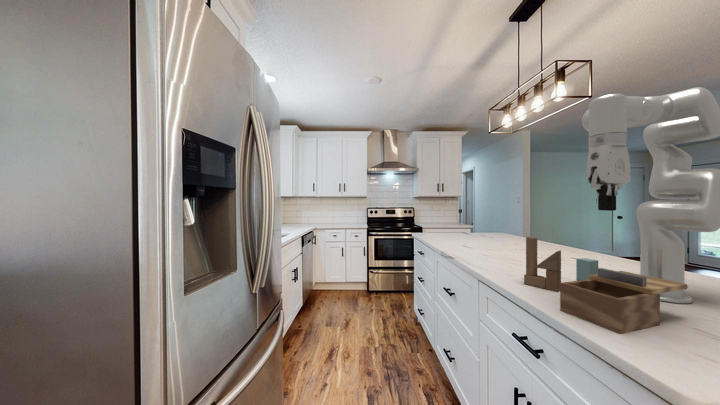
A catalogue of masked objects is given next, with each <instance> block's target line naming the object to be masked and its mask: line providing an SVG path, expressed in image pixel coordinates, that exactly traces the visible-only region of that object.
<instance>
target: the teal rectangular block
mask: <svg viewBox="0 0 720 405" xmlns="http://www.w3.org/2000/svg"><path fill="white" fill-rule="evenodd" d="M575 260H576V264H575V265H576V274H575V275H576V278H575V279H576V280H575V281H578V280H586V279H588V275H592V274H598V268H599V260H596V259H593V258H586V257H583V258H581V257H580V258H576V259H575Z"/></svg>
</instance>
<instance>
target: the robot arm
mask: <svg viewBox="0 0 720 405" xmlns="http://www.w3.org/2000/svg"><path fill="white" fill-rule="evenodd" d="M581 123H582V127H583V129H584V130H585V131H586V132H588V154H587V159H586V160H587V162H586V181H587V183H589V185H590V188H591V189H593V190H595V191H596V196H597V207H598V208H597V209H598V211H610V212H611V211H613V212H614V211H615V212H616V210H617V195H618V192H619V190H620V189H623V187H624V184H626V185H627V184H630V182H631V178H632V176H631V175H632V174H631V161H630V154H629V150H628V147H627V146H628V129H630V128H638V127H643V126H646V127H645V128H644V129H643V133H642V137H643V142H644V144H645V146H646V149H647V150H648V152H649V154H650V155H651V157H652V160H653V164H652V168H651V174H650V179H649V183H648V193H649V194H650V196H651V197H653V198H654V199H655V200H649V201H644V202H642V203H640V204H639V205H638V206H637V208H636V210H635V211H636V220H637V223H638V227H639V236H640V237H639V238H640V240H639V241H640V250H639V251H640V254H639V255H640V259H639V262H640V265H639V268H640V270H639V271H640V272H639V273H640V274H639V275H644V276H649V277H654V278H659V279H664V280H669V281H674V282H678V283H683V284H686V283H685V279H686V278H685V277H686V276H685V273H686V272H685V271H686V270H685V267H686V266H685V265H686V264H685V262H686V260H685V255H686V254H685V252H686V249H685V243H684V241H683V240H682V239H681V238H680V236H678V235H677V234H676V233H675V232H674V231H677V232H678V231H679V232H680V231H681V232H696V233H698V232H699V233H712V232H716V231H718V230H720V169H718V168H709V167H708V168H693V169H692V164H693V158H692V156H691V155H690V154H688V152H686V151H684V150H683V149H681V148H680V147H677V146H676V145H677V144H684V143H691V142H701V141H706V140H713V139H716V138H718V137H719V136H720V106H719V104H718V102H717V99H715V97H714V95H713V94H712V92H711V91H710V90H708V89H707V88H706V87H703V86H702V87H701V86H697V87H696V86H695V87H691V88H687V89H684V90H679V91H676V92H675V91H674V92H671V93H668V94H667V93H666V94H663V95H653V96H651V95H650V96H648V95H647V96H640V95H639V96H638V95H637V96H636V95H634V96H628V95H627V96H626V95H625V94H623V93H610V94H604V95H601V96H598V97H595V98H593V99H592V100H591V101H590V102H589V104H588V109H587V110H586V111H585V112H584V114H583V115H582V118H581ZM675 144H676V145H675ZM656 199H657V200H656ZM658 199H659V200H658ZM688 288H689V286H688V285H687V289H688ZM685 290H686V289H682V290H677V291H671V292H665V293H659V294H660V302H664V303H665V302H666V303H674V304H692V303H693V297H691V296H690V295H688V294H685V293H686V292H685Z"/></svg>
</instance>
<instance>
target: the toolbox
mask: <svg viewBox="0 0 720 405" xmlns="http://www.w3.org/2000/svg"><path fill="white" fill-rule="evenodd" d="M559 310H560V312H563V313H566V314H569V315H571V316H573V317H576V318H579V319H581V320H583V321H586V322H588V323H592V324H594V325H596V326H599V327H602V328H605V329H607V330H609V331H612V332H615V333H617V334H620V335H622V334H623V335H624V334H626V333H631V332H635V331H640V330H644V329H648V328H653V327H658V326H660V323H661V301H660V294H653V295H650V294H646V293H642V292H638V291H634V290H630V289H626V288H622V287H618V286H615V285H611V284H607V283H603V282H599V281H595V280H591V279H586V280H578V281H576V280H572V281H564V282H561V283H560V291H559Z"/></svg>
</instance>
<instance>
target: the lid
mask: <svg viewBox="0 0 720 405" xmlns="http://www.w3.org/2000/svg"><path fill="white" fill-rule="evenodd" d="M588 279H591V280H595V281H599V282H603V283H607V284H611V285H615V286H618V287H622V288H626V289H630V290H634V291H638V292H642V293H646V294H650V295H653V294H659V293H665V292H671V291H677V290H682V289H685V290H688V288H687V286H688V283H685V284H683V283H678V282H674V281H669V280H664V279H659V278H654V277H649V276H644V275H640V274H639V273H634V272H628V271H625V270H624V271H623V270H612V269H608V268H603V267H598V274H592V275H588Z"/></svg>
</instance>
